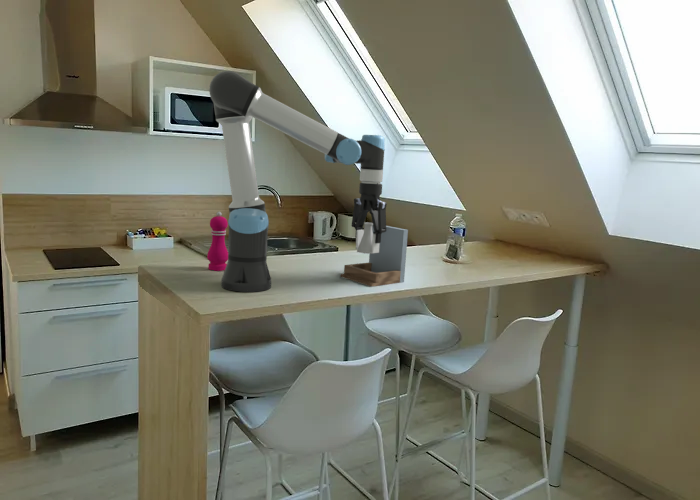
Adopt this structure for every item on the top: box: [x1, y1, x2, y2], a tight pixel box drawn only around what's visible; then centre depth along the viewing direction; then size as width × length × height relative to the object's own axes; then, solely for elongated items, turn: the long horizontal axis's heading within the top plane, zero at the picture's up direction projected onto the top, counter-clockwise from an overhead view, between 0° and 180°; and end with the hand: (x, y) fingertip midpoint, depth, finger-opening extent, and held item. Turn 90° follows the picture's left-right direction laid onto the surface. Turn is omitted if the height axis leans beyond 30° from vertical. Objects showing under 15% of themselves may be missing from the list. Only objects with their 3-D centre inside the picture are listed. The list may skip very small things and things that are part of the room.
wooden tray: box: [340, 262, 401, 288], centre depth 199 cm, size 13×16×4 cm
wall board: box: [368, 225, 409, 284], centre depth 203 cm, size 2×16×18 cm, turn 41°
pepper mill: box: [206, 211, 229, 272], centre depth 199 cm, size 7×7×20 cm
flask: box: [356, 221, 373, 255], centre depth 195 cm, size 7×7×10 cm
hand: (367, 250), depth 196 cm, fingers closed on flask, 7 cm apart
